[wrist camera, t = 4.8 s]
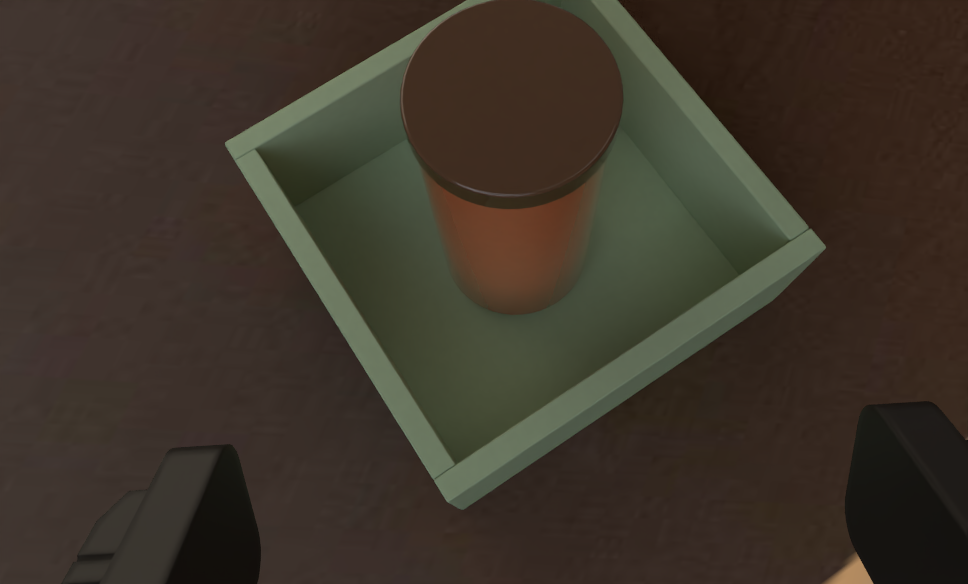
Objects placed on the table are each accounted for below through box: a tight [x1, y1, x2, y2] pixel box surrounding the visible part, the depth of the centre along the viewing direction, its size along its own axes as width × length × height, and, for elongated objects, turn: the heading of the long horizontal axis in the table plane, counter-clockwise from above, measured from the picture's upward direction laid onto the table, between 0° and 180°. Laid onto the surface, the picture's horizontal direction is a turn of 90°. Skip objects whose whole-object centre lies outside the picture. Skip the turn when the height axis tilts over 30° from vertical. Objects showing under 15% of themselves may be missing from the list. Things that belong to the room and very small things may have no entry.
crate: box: [225, 0, 826, 510], centre depth 26 cm, size 12×12×5 cm
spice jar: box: [400, 0, 624, 315], centre depth 23 cm, size 5×5×10 cm
